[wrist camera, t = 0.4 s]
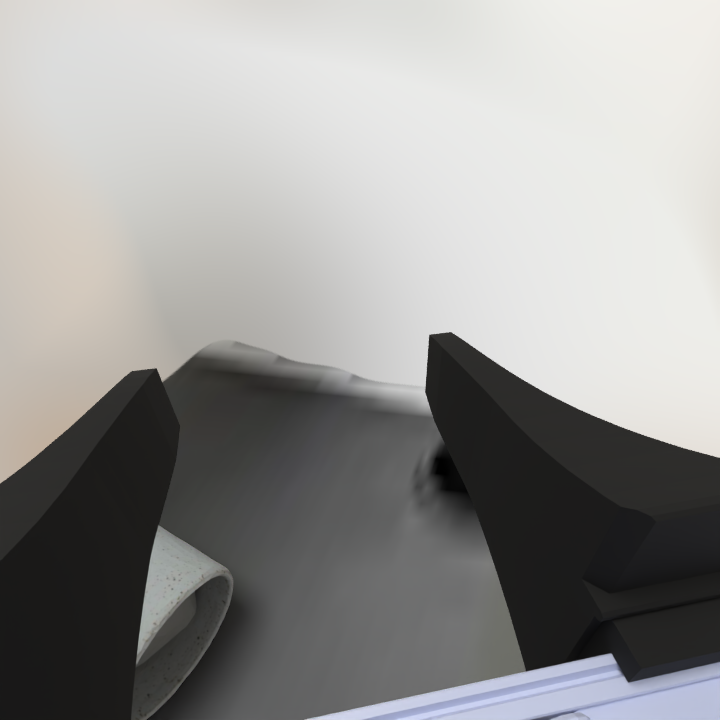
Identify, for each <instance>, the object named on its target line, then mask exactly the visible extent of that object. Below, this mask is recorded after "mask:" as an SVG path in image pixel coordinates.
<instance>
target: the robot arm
mask: <svg viewBox="0 0 720 720" xmlns="http://www.w3.org/2000/svg"><path fill="white" fill-rule="evenodd" d="M425 393H426V396H427V399H428V402H429V405H430V409H431V412H432V415H433V418H434V421H435V423H436V425H437V428H438V430H439V432H440V434H441V436H442V438H443V440H444V443H445V445H446V447H447V449H448V451H449V453H450V455H451V457H452V459H453V461H454V463H455V465H456V467H457V469H458V472H459V474H460V476H461V478H462V480H463V482H464V484H465V486H466V488H467V490H468V493H469V495H470V497H471V500H472V502H473V505H474V507H475V510H476V513H477V516H478V519H479V521H480V524H481V527H482V530H483V533H484V535H485V538H486V541H487V544H488V547H489V550H490V553H491V556H492V559H493V562H494V565H495V568H496V571H497V574H498V577H499V581H500V584H501V587H502V590H503V593H504V597H505V600H506V603H507V606H508V609H509V613H510V616H511V619H512V623H513V626H514V630H515V633H516V637H517V640H518V644H519V647H520V651H521V654H522V658H523V661H524V665H525V669H526V672H522V673H517V674H513V675H508V676H504V677H499V678H494V679H490V680H485V681H481V682H476V683H471V684H467V685H462V686H458V687H453V688H448V689H444V690H439V691H435V692H430V693H425V694H421V695H416V696H412V697H407V698H402V699H398V700H393V701H389V702H384V703H379V704H375V705H370V706H366V707H361V708H356V709H352V710H347V711H343V712H338V713H333V714H329V715H324V716H320V717H315V718H310V719H306V720H720V458H717V457H714V456H710V455H707V454H702V453H699V452H695V451H692V450H688V449H684V448H681V447H677V446H675V445H671V444H668V443H665V442H662V441H659V440H656V439H653V438H650V437H647V436H644V435H641V434H638V433H635V432H633V431H630V430H627V429H624V428H622V427H619V426H617V425H614V424H612V423H609V422H607V421H605V420H602V419H600V418H597V417H595V416H592V415H590V414H588V413H585V412H583V411H581V410H578V409H577V408H575V407H573V406H570V405H569V404H566V403H564V402H562V401H560V400H558V399H556V398H554V397H552V396H550V395H548V394H547V393H545V392H543V391H541V390H539V389H538V388H536V387H534V386H532V385H531V384H529V383H527V382H525V381H524V380H522V379H520V378H519V377H517V376H516V375H514V374H512V373H511V372H509V371H508V370H506V369H505V368H503V367H501V366H500V365H498V364H497V363H495V362H494V361H492V360H491V359H489V358H488V357H486V356H485V355H484V354H482V353H481V352H479V351H478V350H476V349H475V348H473V347H472V346H470V345H469V344H468V343H466V342H465V341H464V340H462V339H461V338H459V337H458V336H456V335H455V334H453V333H451V332H449V333H440V334H432V335H429V348H428V362H427V377H426V390H425ZM179 430H180V425H179V422H178V420H177V417H176V415H175V413H174V410H173V408H172V405H171V403H170V400H169V398H168V395H167V393H166V390H165V388H164V386H163V383H162V381H161V378H160V376H159V373H158V371H157V369H147V370H139V371H132V372H130V373H129V374H128V375H127V376H125V377H124V378H123V379H122V380H121V381H120V382H119V383H118V384H116V385H115V386H114V387H113V388H112V389H111V390H110V391H109V392H108V393H107V394H106V395H105V396H104V397H102V398H101V399H100V400H99V401H98V402H97V403H96V404H95V405H94V406H93V407H92V408H91V409H90V410H88V411H87V412H86V413H85V414H84V415H83V416H82V417H81V418H80V419H79V420H78V421H77V422H75V423H74V424H73V425H72V426H71V427H70V428H69V429H68V430H66V431H65V432H64V433H63V434H62V435H61V436H59V437H58V438H57V439H56V440H55V441H53V442H52V443H51V444H50V445H49V446H48V447H46V448H45V449H44V450H43V451H42V452H41V453H39V454H38V455H37V456H36V457H35V458H33V459H32V460H31V461H30V462H28V463H27V464H26V465H25V466H23V467H22V468H21V469H19V470H18V471H17V472H16V473H15V474H13V475H12V476H10V477H9V478H7V479H6V480H5V481H3V482H2V483H1V484H0V720H131V714H132V701H133V688H134V679H135V669H136V660H137V651H138V641H139V633H140V626H141V618H142V611H143V603H144V596H145V590H146V583H147V577H148V571H149V564H150V558H151V554H152V549H153V545H154V540H155V536H156V533H157V529H158V525H159V522H160V518H161V514H162V511H163V507H164V503H165V500H166V496H167V492H168V489H169V485H170V481H171V477H172V474H173V470H174V466H175V462H176V456H177V448H178V440H179Z"/></svg>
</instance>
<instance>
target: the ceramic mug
mask: <svg viewBox="0 0 720 720" xmlns="http://www.w3.org/2000/svg"><path fill="white" fill-rule="evenodd" d="M232 592H233V577H232V576H231V573H230V572H229V570H228V569H227V568H225V567H224V566H223V565H221V564H219V563H217V562H216V561H214V560H212V559H211V558H209V557H208V556H206V555H205V554H203V553H201V552H200V551H198V550H197V549H195V548H194V547H192V546H191V545H189V544H187V543H186V542H184V541H182V540H181V539H179V538H177V537H176V536H174V535H172V534H171V533H169V532H168V531H166V530H165V529H163V528H162V527H160V526H159V525H158V529H157V533H156V536H155V540H154V545H153V549H152V554H151V558H150V564H149V571H148V577H147V583H146V590H145V596H144V603H143V611H142V618H141V626H140V633H139V641H138V651H137V660H136V669H135V679H134V688H133V701H132V714H131V720H146V719H148V718H149V717H150V716H151V715H153V714H154V713H155V712H156V711H157V710H158V709H159V708H160V707H161V706H162V705H163V704H164V703H165V702H166V701H167V700H168V699H169V698H170V697H171V696H172V695H173V694H174V693H175V692H176V691H177V689H178V688H179V687H180V685H181V684H182V683H183V681H184V680H185V679H186V677H187V676H188V675H189V674H190V673H191V672H192V671H193V669H194V668H195V667H196V665H197V664H198V662H199V661H200V659H201V658H202V656H203V655H204V653H205V651H206V650H207V649H208V647H209V646H210V644H211V642H212V640H213V639H214V637H215V635H216V633H217V632H218V630H219V627H220V625H221V623H222V621H223V619H224V617H225V615H226V612H227V610H228V607H229V605H230V602H231V597H232Z"/></svg>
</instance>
